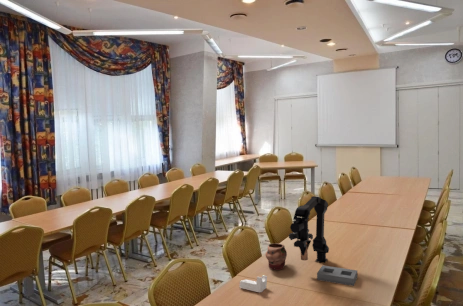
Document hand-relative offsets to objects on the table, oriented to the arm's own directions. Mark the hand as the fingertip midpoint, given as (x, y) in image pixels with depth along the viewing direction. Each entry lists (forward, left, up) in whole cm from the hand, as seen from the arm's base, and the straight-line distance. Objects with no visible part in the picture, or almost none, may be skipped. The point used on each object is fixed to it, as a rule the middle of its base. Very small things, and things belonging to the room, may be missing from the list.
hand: (304, 254), depth 209 cm
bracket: (+29, -20, -12) cm, 37 cm away
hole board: (0, +19, -12) cm, 22 cm away
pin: (0, 0, -3) cm, 3 cm away
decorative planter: (-4, -19, -12) cm, 23 cm away
